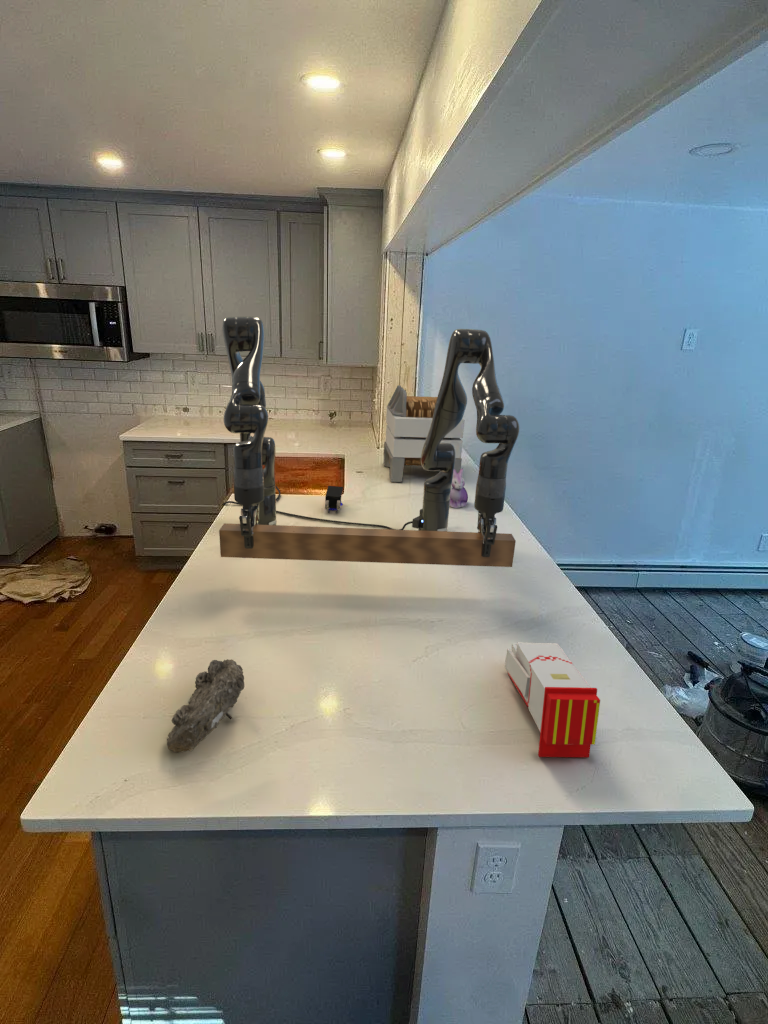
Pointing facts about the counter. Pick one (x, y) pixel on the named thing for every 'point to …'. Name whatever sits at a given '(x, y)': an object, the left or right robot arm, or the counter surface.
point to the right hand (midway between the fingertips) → (483, 551)
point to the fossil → (206, 705)
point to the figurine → (458, 490)
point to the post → (366, 545)
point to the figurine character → (333, 498)
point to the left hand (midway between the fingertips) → (251, 543)
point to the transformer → (413, 432)
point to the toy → (555, 698)
